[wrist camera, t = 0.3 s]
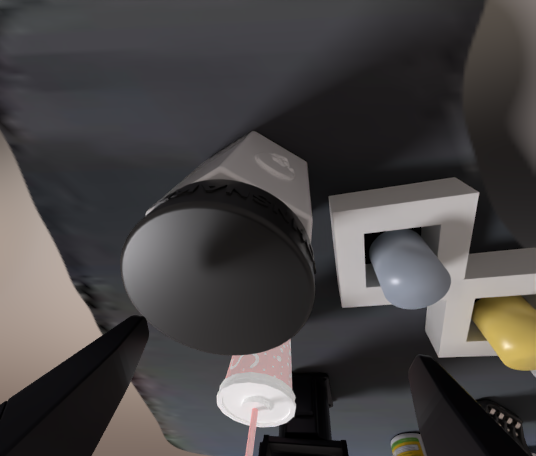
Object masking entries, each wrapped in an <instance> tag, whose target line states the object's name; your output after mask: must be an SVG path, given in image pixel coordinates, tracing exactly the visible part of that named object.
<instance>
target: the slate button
mask: <svg viewBox="0 0 536 456" xmlns="http://www.w3.org/2000/svg"><path fill="white" fill-rule="evenodd" d="M369 257H370V260H371V263H372V265H373V268H374V270H375V273H376V276H377V278H378V281H379V283H380V286H381V288H382V291H383V293H384V296H385V298H386V299H387V300H388V301H389V302H390V303H391V304H393V305H395V306H397V307H400V308H404V309H420V308H424V307H427V306H430V305H432V304H434V303H436V302H438V301H439V300H440V299H442V298H443V297H444V296H445V295H446V293H447V292H448V290H449V288H450V285H451V277H450V274H449V272H448V271H447V269H446V268H445V267H444V266H443V264H442V263H441V262H440V260H439V259H438V258H437V257H436V255H435V254H434V253H433V251H432V250H431V249H430V248H429V246H428V245H427V244H426V242H425V241H424V240H423V239H422V237H421V236H420V235H419V234H418V233H416V232H415V231H413V230H410V229H400V230H392V231H386V232H384V233H382V234H381V235H379V236H378V237H377V238H376V239H375V240H374V241H373V243H372V244H371V246H370V249H369Z"/></svg>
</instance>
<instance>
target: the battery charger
mask: <svg viewBox="0 0 536 456" xmlns="http://www.w3.org/2000/svg"><path fill="white" fill-rule="evenodd" d="M477 403H478V404H479V405H480V406H481V407H482V408H483V409H484V410H485V411H486V412H487V413H488V414H489V415H490V416H491V417H492V418H493V419H494V420H495V421H496V422H497V423H498V424H499V425H500V426H501V427H502V428H503V429H504V430H505V431H506V432H507V433H508V434H509V435H510V436H511V437H512V438H513V439H514V440H515V441H516V442H517V443H518V444H519V445H520V446H521V447H522V448H523V449H524V450H525V451H526V452H527V453H528V454H529V455H530V456H533V455H532V454H531V452H530V450H529V448H528V446H527V444H526V441H525V438H524V434H523V427H522V421H521V419H520V418H519V417H518V416H517V415H515V414H514V413H512V412H510V411H509V410H507V409H505V408H503V407H502V406H500V405H498V404H496V403H494V402H492V401H489V400H482V401H479V402H477Z"/></svg>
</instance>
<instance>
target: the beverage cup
mask: <svg viewBox="0 0 536 456" xmlns="http://www.w3.org/2000/svg"><path fill="white" fill-rule="evenodd" d="M295 398H296V397H295V395H294V393H293V391H292V368H291V340H288V341H287V342H285V343H283V344H282V345H280V346H278V347H276V348H273V349H271V350H268V351H264V352H261V353H256V354H250V355H233V356H232V359H231V362H230V366H229V369H228V372H227V375H226V378H225V380H224V381H223V382H222V384H221V385H220V390H219V392H218V394H217V405H218V407H219V408H220V409H221V411H222V412H223V413H224V414H225V415H227V416H228V417H230V418H231V419H233V420H234V421H237V422H240V423H243V424H245V425H249V426H250V427H249V434H248V441H247V448H246V455H245V456H253V448H254V440H255V432H256V427H275V426H279V425H282V424H285V423H287V422H288V421H289V420H291V419H292V418H293V417H294V415H295V410H296V403H295Z"/></svg>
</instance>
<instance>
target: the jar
mask: <svg viewBox="0 0 536 456" xmlns="http://www.w3.org/2000/svg"><path fill="white" fill-rule="evenodd" d="M311 234H312V209H311V198H310V187H309V176H308V165H307V162H306V161H304V160H303V159H301V158H299V157H298V156H296V155H294V154H293V153H291V152H289V151H288V150H286V149H284V148H282V147H281V146H279V145H277V144H276V143H274V142H272V141H271V140H269V139H267V138H266V137H264V136H262V135H261V134H259V133H257V132H256V131H251V132H250V133H248V134H247V135H245V136H244V137H242V138H240V139H239V140H237V141H236V142H234V143H233V144H231V145H229V146H228V147H226V148H225V149H223V150H222V151H220V152H218V153H217V154H215V155H214V156H212V157H211V158H209V159H207V160H206V161H205V162H204V163H202V164H201V165H200V166H199V167H198V168H197V169H195V170H194V171H193V172H192V173H191V174H190V175H188V176H187V177H186V178H185V179H184V180H182V181H181V182H180V183H179V184H178V185H177V186H175V187H174V188H173V189H172V190H171V191H170V192H168V193H167V194H166V195H165V196H164V197H163V198H161V199H160V200H159V201H158V202H157V203H156V204H154V205H153V206H152V207H151V208H150V209H149V210H147V212H146V216H145V217H144V218H143V219H142V220H140V221H139V222H138V223H137V224H136V226H135V227H134V228H133V229H132V231H131V232H130V233H129V235H128V237H127V239H126V241H125V243H124V246H123V249H122V253H121V260H120V267H121V276H122V281H123V285H124V287H125V290H126V292H127V294H128V296H129V298H130V300H131V302H132V303H133V305H134V306H135V308H136V309H137V310H138V312H139V313H140V314H141V315H142V316H144V317H145V318H146V320H147V321H148V322H149V323H150V324H151V325H152V326H154V327H155V328H156V329H157V330H159V331H160V332H162V333H163V334H165V335H166V336H168V337H169V338H171V339H173V340H175V341H177V342H179V343H181V344H183V345H186V346H188V347H191V348H194V349H197V350H200V351H204V352H208V353H213V354H220V355H250V354H256V353H261V352H264V351H268V350H271V349H273V348H276V347H278V346H280V345H282V344H283V343H285V342H287V341H288V340H290V339H291V338H292V337H293V336H295V335H296V334H297V333H298V332H299V331H300V330H301V328H302V327H303V326H304V325H305V323H306V322H307V320H308V318H309V316H310V314H311V311H312V308H313V305H314V300H315V280H314V274H316V268H315V261H314V254H313V250H312V246H311Z"/></svg>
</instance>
